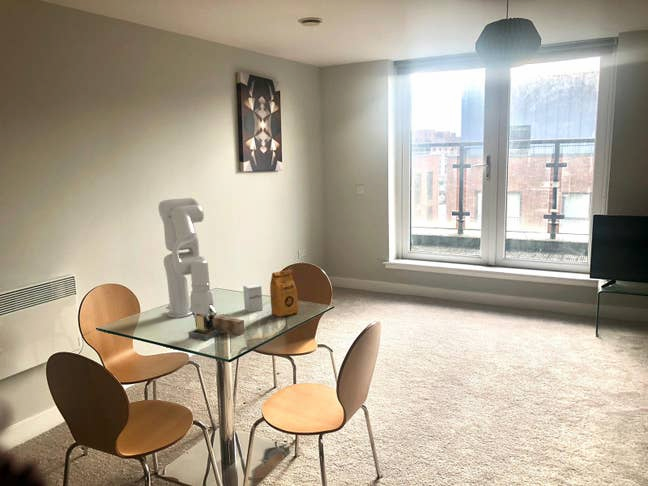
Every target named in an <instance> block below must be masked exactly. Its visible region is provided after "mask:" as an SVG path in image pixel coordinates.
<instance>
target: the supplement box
mask: <svg viewBox="0 0 648 486" xmlns="http://www.w3.org/2000/svg"><path fill="white" fill-rule="evenodd" d="M262 291H263V290H262V286H261V285H260V284H258V283H252V284H247V285H243V299H244V310H246V311H247V312H248V313H253V312H257V311H262V310H263V308H264V307H263V293H262Z"/></svg>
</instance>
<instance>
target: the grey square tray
mask: <svg viewBox="0 0 648 486" xmlns="http://www.w3.org/2000/svg"><path fill="white" fill-rule="evenodd" d="M187 333H188V338H189V339H193V340H198V341H204V342H206V341H208V340H211V339H214V338H215V337H217V336H220V335H222V332H221V329H220V328H215V327H213V328H212V332H210V333H207V334H200V333H197V328H196V329H193V330H191V331H188V332H187Z"/></svg>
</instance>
